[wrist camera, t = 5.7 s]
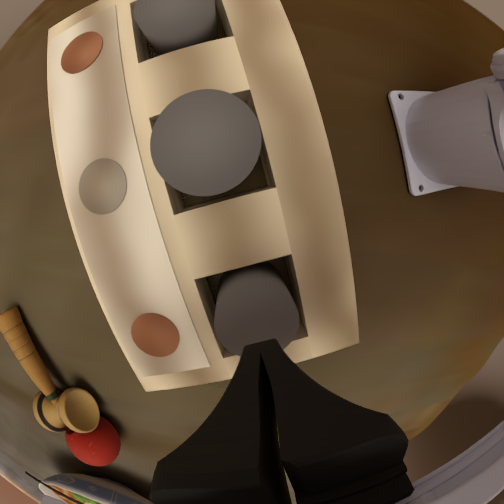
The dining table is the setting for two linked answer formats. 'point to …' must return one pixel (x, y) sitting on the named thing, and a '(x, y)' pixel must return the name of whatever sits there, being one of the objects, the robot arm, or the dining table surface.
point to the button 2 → (205, 142)
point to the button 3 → (254, 308)
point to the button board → (170, 200)
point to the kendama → (62, 401)
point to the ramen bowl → (88, 490)
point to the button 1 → (176, 23)
